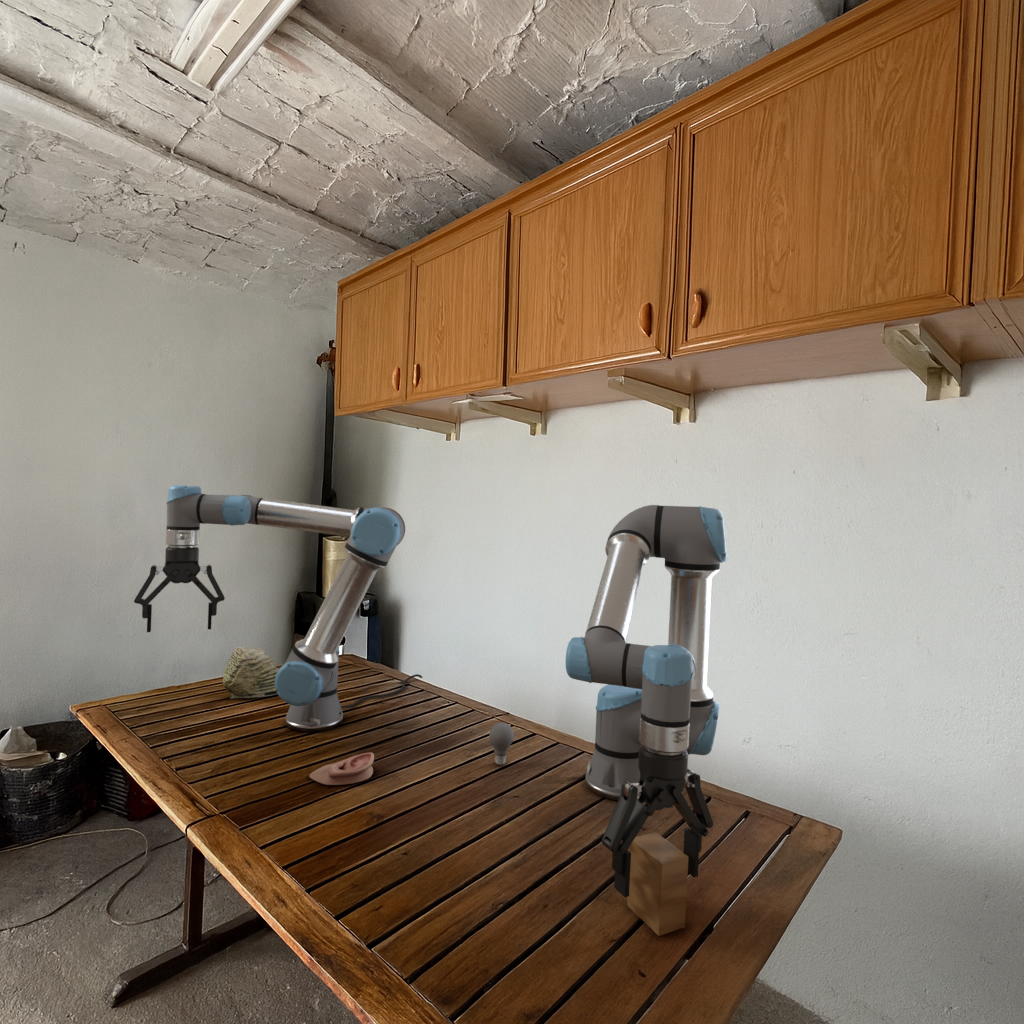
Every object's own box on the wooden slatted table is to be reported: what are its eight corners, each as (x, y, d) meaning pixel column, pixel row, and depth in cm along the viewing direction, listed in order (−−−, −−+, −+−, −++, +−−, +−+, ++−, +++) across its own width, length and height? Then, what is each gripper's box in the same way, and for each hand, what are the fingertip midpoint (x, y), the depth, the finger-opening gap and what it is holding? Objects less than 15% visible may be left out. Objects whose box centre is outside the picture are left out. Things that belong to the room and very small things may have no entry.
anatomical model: (302, 763, 140) (328, 744, 151) (302, 781, 140) (327, 761, 151) (358, 771, 137) (380, 751, 148) (358, 789, 137) (379, 768, 148)
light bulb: (487, 758, 157) (489, 718, 156) (511, 759, 157) (513, 719, 157) (488, 769, 151) (490, 727, 150) (513, 769, 151) (515, 727, 151)
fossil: (218, 695, 195) (220, 647, 195) (278, 685, 208) (279, 640, 207) (228, 703, 189) (230, 653, 188) (289, 692, 201) (290, 645, 201)
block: (626, 905, 102) (630, 838, 102) (652, 897, 104) (655, 831, 104) (658, 936, 95) (662, 864, 95) (685, 927, 97) (688, 856, 97)
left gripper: (123, 547, 151) (120, 635, 152) (237, 547, 163) (234, 630, 163) (126, 544, 158) (123, 629, 158) (235, 545, 169) (232, 624, 170)
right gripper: (612, 767, 90) (605, 915, 90) (740, 745, 101) (733, 877, 102) (583, 748, 97) (576, 886, 97) (706, 729, 108) (700, 853, 108)
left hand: (179, 629), depth 161 cm, fingers open, 13 cm apart
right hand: (656, 882), depth 99 cm, fingers open, 13 cm apart
